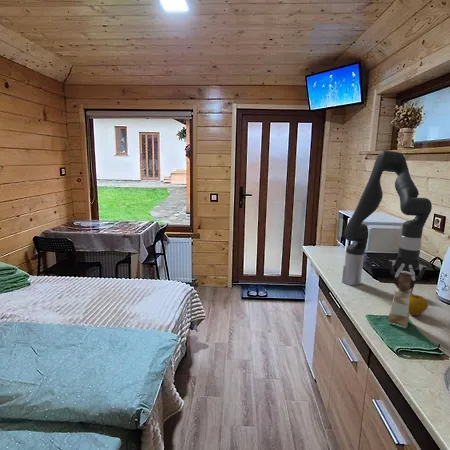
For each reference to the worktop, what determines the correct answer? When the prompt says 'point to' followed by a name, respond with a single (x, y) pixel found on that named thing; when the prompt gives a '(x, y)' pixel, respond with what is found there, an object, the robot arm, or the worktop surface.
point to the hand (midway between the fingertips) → (403, 286)
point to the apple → (417, 305)
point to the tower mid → (400, 309)
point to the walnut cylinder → (404, 281)
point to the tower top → (402, 296)
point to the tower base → (398, 319)
